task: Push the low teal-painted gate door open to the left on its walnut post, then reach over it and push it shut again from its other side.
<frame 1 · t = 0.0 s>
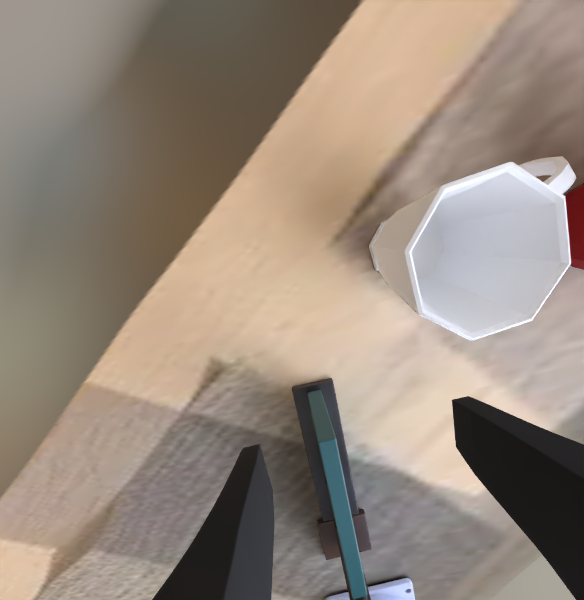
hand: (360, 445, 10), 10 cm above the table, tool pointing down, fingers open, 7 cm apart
door frame: (341, 518, 24), on the table
door: (335, 489, 19), point 3 cm above the table, hinge at 0.0°
cup: (417, 232, 19), on the table
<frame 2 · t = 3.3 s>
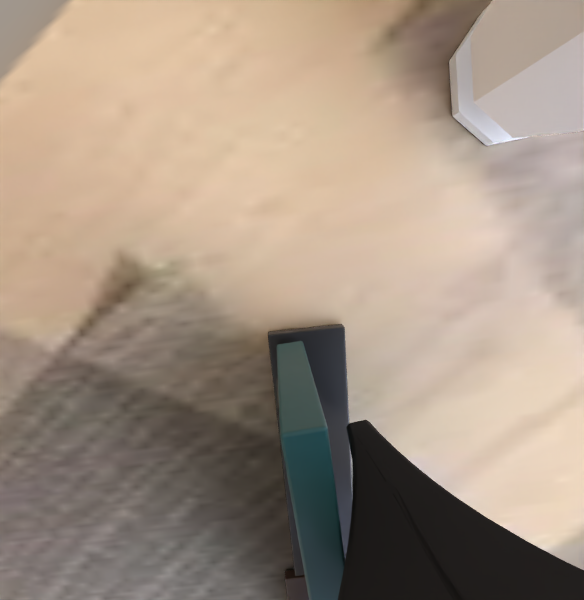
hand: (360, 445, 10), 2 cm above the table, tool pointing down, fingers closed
door frame: (325, 572, 14), on the table
door: (318, 534, 10), point 3 cm above the table, hinge at 3.2°, touching gripper
cup: (540, 55, 10), on the table
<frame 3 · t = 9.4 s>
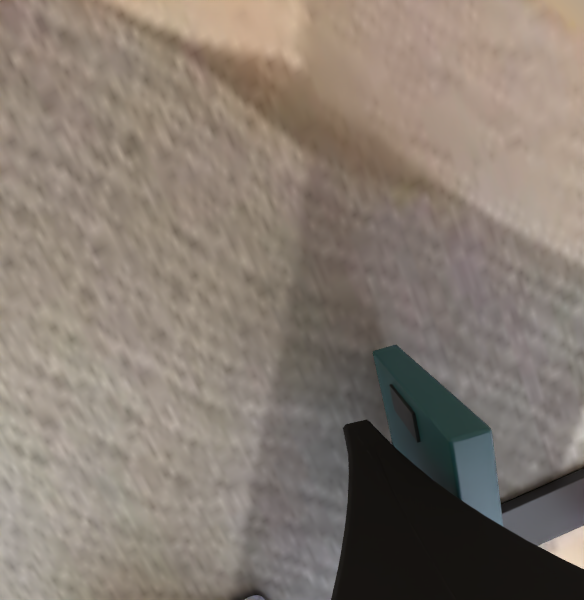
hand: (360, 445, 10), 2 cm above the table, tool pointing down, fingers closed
door frame: (424, 562, 15), on the table
door: (441, 527, 10), point 3 cm above the table, hinge at 79.5°, touching gripper
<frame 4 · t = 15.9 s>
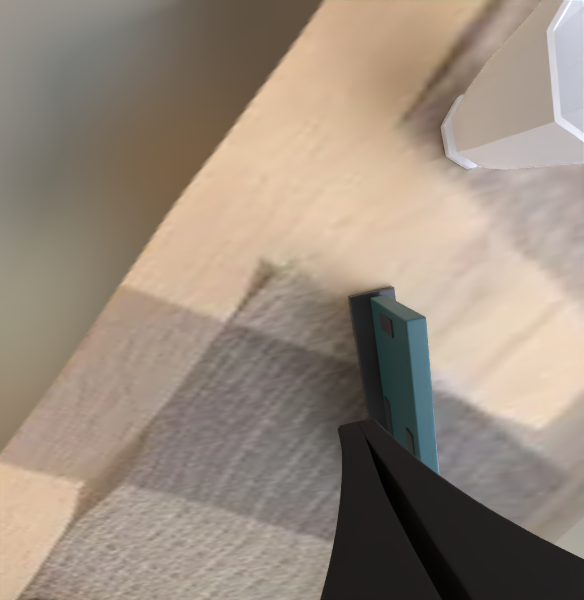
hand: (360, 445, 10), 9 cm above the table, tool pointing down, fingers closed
door frame: (393, 453, 22), on the table
door: (403, 400, 17), point 3 cm above the table, hinge at -0.9°
cup: (493, 114, 17), on the table
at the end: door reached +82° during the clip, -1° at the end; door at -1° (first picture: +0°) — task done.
